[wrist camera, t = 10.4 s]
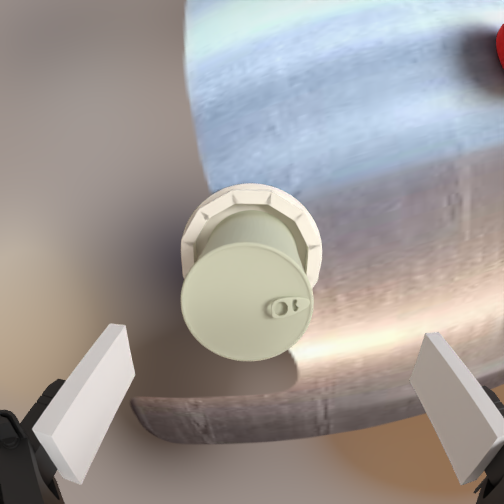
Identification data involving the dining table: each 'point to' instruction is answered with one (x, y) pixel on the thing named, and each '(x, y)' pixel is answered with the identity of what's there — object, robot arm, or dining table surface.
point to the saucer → (259, 200)
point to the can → (248, 289)
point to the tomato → (500, 45)
